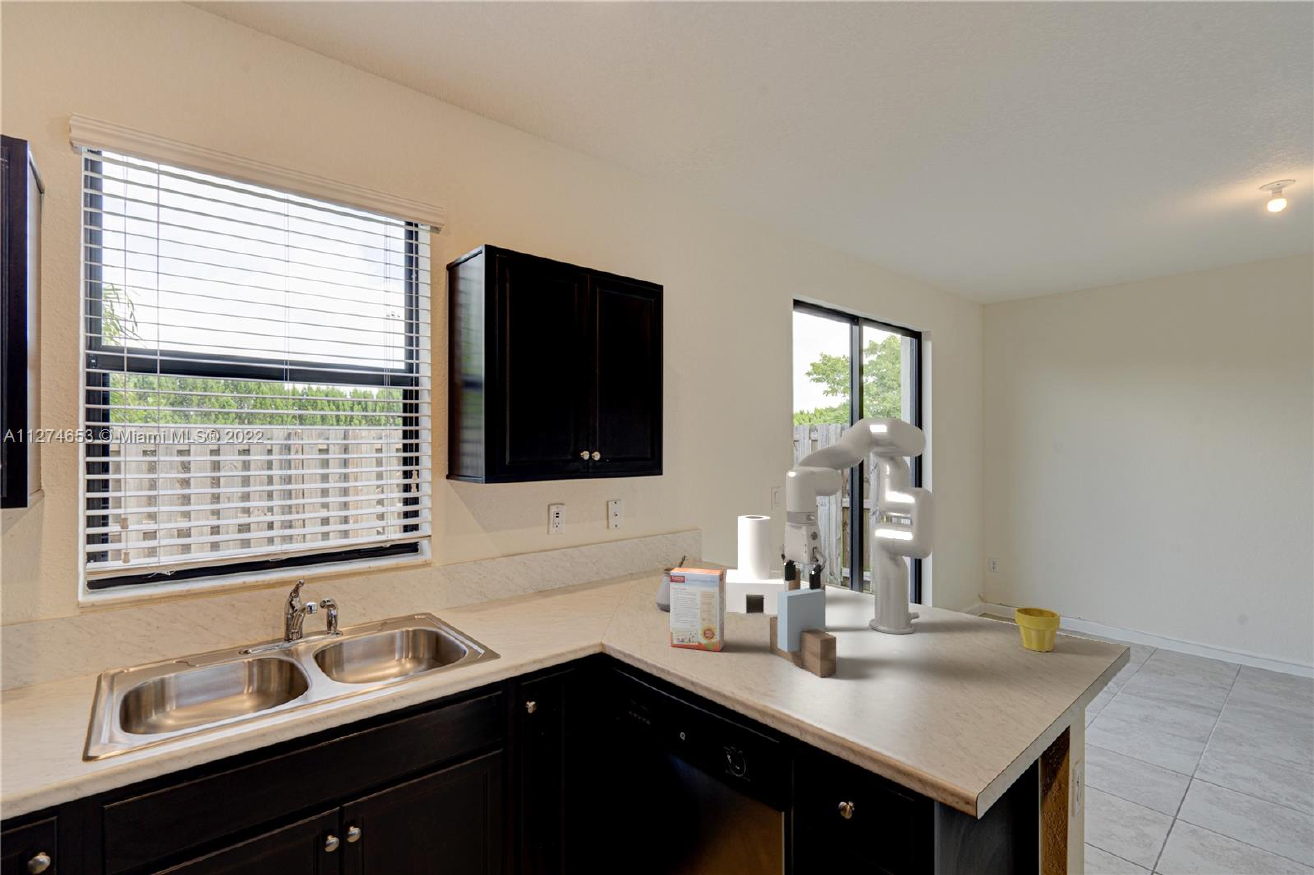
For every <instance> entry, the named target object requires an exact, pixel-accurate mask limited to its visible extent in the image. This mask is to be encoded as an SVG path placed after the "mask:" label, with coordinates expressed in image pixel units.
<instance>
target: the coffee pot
mask: <svg viewBox="0 0 1314 875" xmlns="http://www.w3.org/2000/svg"><path fill="white" fill-rule="evenodd" d="M686 558H687V559H686ZM688 560H689V558H688V555H687V556H686V554H685V555H684V554H683V556H682V558H681V560H680V561H679V563H678V566H677V568H683V564H684V561H688ZM675 568H676V567H668V568H663V569H662V572H663V575H664V577H663V578H662V581H661V583H660V585H659V588H658V591H657V593H656V596H655V598H654V601H655V604H656V606H657V607H658V608H660V610H661V611H664V612H670V572H671V571H672V570H674V569H675Z"/></svg>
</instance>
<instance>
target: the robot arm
mask: <svg viewBox="0 0 1314 875" xmlns="http://www.w3.org/2000/svg"><path fill="white" fill-rule="evenodd" d="M926 447H927V440H926V436H925V433H924V432H923V431H922V429H920V428H919V427H918V426H916V425H913V424H910V423H909V422H906V421H904V420H903V419H902V420H901V419H899V418H895V417H865V418H862V419H859V420H857V421H856V422H855V423H854V424H853V425H852V426H850V428H848V430H847V431H846V432H845V433H843V435H842V436H841V437H840V438H839V439H837V440H836V441H835V442H832V443H830V444H827V445H825V446H823V447H821V448H819V449H817V450H814V451H812V452H810V453H809V454H807V455H805V456H804V457H802V458H801V459H800V460H799V461H798V462H797V463H796V464H795V465H794V466H793V468H792V469H790V470H788V471H787V472H786V474H785V497H786V498H785V499H786V502H785V504H786V505H785V506H786V508H785V509H786V510H785V511H786V515H785V516H786V517H785V518H786V522H785V530H784V539H783V543H784V544H782V545H780V546H779V552H780V557H781V559H782V561H783V562H782V564H783V566H784V581H786V582H788V581H792V580H796V566H797V565H796V564H795V563H799V564H802V565H805V566H807V567H808V570H809V571H810V573H808V580H809V581H808V582H809V583H808V586H809V587H808V588H810V590H815V589H820V588H821V582H822V580H821V579H822V573H823V572H824V571H823V570H824V569H825V568H826V563H827V561H828V558H827V557H826V555H825V554H823V545H822V542H823V541H822V535H821V530H820V526H819V524H817V523H818V521H817V520H818V517H817V516H818V515H817V513H818V512H817V510H818V509H817V497H832V496H835V495H837V494H838V493H840V491H841V490H842V488H843V485H844V479H843V476H842V474H841V472H840V471H842V470H846V469H847V470H848V469H851V468H854V467H856V466H858V465H859V464H860V463H862V461H863V460H864V459H865V458H866V457H867V456H868V455H869V454H870V453H871V454H872V455H873V457H874V458H875V460H876V463H877V464H878V467H879V471H880V472H879V473H880V474H879V475H880V477H879V490H878V491H879V494H878V510H879V512H880V513H881V514H882V515H883V516H885V517H887V518H894V519H901V520H911V521H912V524H908V523H903V522H902V523H901V522H895V521H894V522H892V521H882V522H878V523H877V524H875V525H874V527H872V530H871V533H870V538H871V546H872V547H871V548H872V551H873V559H874V618H872V619H870V620H869V621H868V625H869V627H870V628H871V629H872V630H874V631H877V632H880V633H886V634H894V635H895V634H897V635H904V634H905V635H906V634H911V633H913V632H914V631H915V625H914V624H913V623H912V620H916V619H919V618H920V613H919V612H917V611H914V612H910V611H909V601H910V600H909V596H910V594H909V588H910V586H909V584H910V583H909V578H910V577H909V567H908V565H907V562H906V561H905V558H912V559H919V560H924V559H927V558H928V557H930V556H931V554H932V552H933V549H934V541H935V526H936V500H935V497H934V495H933V493H932V492H931V491H930V490H928V489H926V488H924V487H912V486H911V469H910V465H909V464H908V462H907V460H906V459H905V457H908V458H915V457H918V456H920V455H922V454H923V452H924V451H925V449H926ZM904 557H905V558H904ZM814 566H815V567H814Z"/></svg>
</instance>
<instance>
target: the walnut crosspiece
mask: <svg viewBox="0 0 1314 875" xmlns="http://www.w3.org/2000/svg"><path fill="white" fill-rule="evenodd" d="M769 652H771V653H773V654H775V655H776V656H778V657H781V659H782V658H783V659H784V660H786V661H788V662H790V663H791V664H793V663H794V665H796V666H798V667H799V668H801V667H802V668H801V669H803V670H805V671H807V672H809V673H810V672H811V674H812V675H814V676H816V677H818V676H819V678H820V677H821V678H825V677H829V676H833V675H837V636H835V635H833V634H830V633H828V632H826V631H825V632H823V631H821V630H819V629H813V630H807V631H801V650H797V651H792V652H786V651H784V650H782V649H780V648H778V615H776V616H770V617H769ZM824 676H825V677H824Z"/></svg>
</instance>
